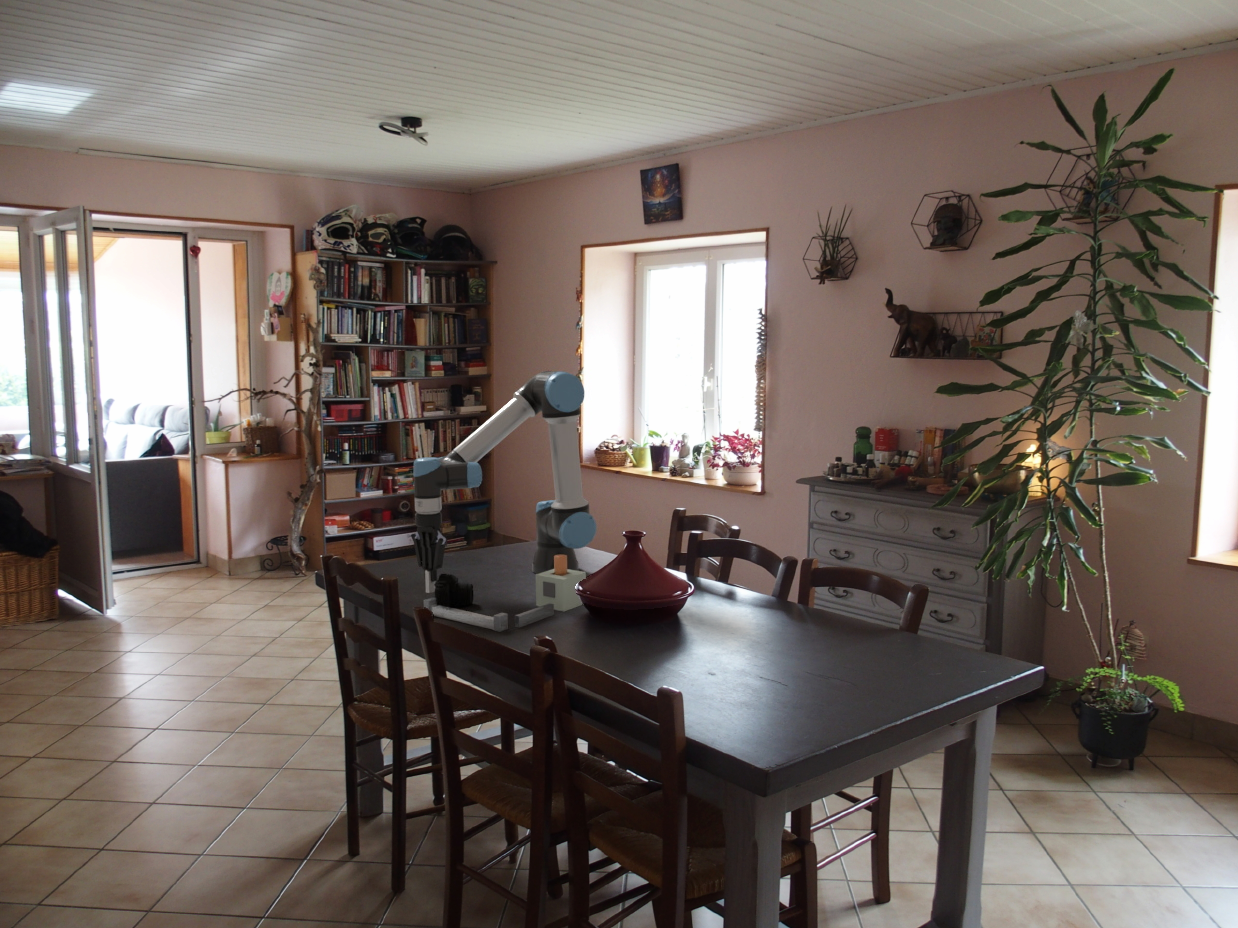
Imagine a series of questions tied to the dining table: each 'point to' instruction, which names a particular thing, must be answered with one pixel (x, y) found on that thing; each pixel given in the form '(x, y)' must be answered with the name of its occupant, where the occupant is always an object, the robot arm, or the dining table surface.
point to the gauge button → (560, 565)
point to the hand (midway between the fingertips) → (431, 591)
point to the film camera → (452, 591)
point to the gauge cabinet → (558, 589)
